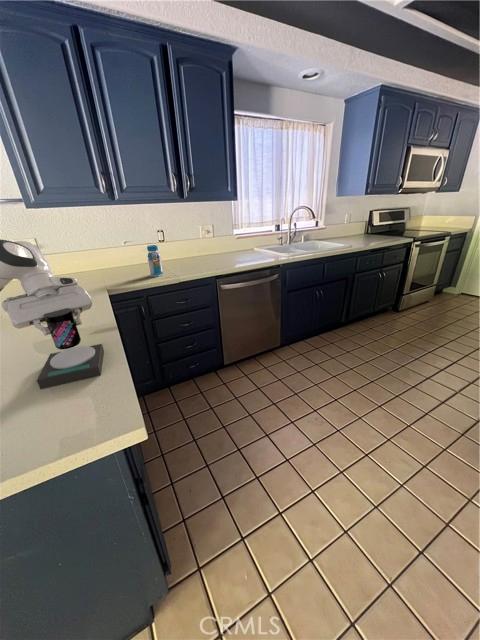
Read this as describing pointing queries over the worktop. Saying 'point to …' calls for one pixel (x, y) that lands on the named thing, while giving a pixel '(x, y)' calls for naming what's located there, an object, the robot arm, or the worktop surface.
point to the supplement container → (63, 328)
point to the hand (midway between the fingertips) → (64, 328)
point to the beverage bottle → (154, 261)
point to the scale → (71, 365)
